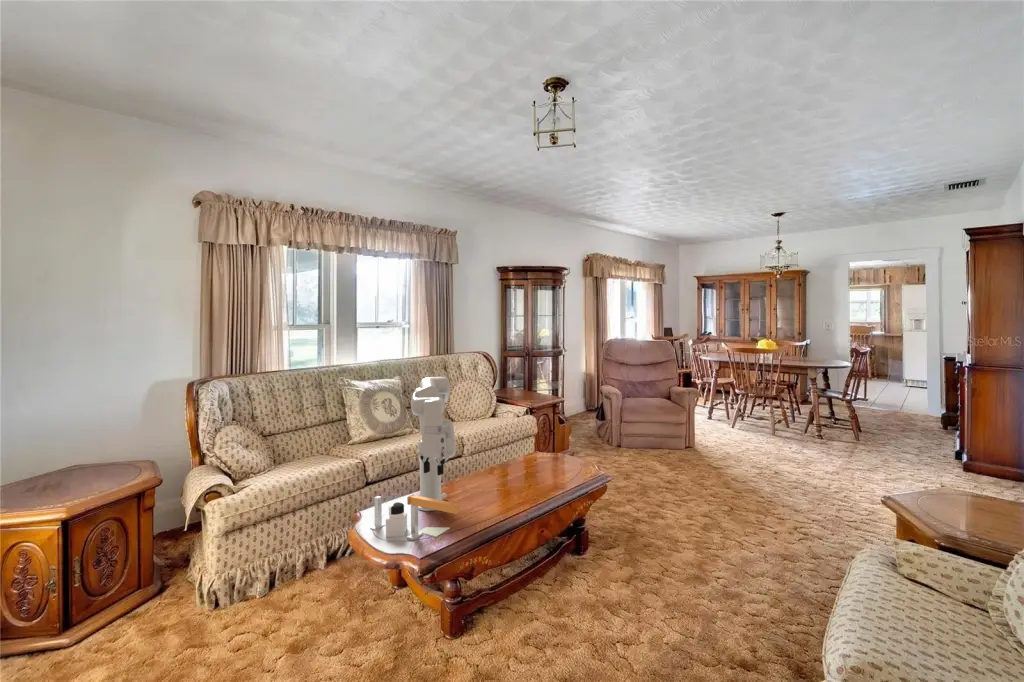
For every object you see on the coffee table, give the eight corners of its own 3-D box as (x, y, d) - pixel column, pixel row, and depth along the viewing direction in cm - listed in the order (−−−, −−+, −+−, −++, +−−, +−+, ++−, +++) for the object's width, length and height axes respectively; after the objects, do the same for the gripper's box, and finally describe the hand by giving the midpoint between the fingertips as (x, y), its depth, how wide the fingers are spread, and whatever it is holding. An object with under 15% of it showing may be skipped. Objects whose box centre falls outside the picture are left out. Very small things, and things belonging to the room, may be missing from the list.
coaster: (432, 524, 197) (432, 523, 197) (450, 529, 192) (450, 527, 192) (417, 533, 189) (417, 531, 189) (436, 537, 184) (436, 536, 184)
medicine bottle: (407, 529, 192) (406, 500, 192) (403, 536, 185) (403, 506, 185) (390, 530, 192) (389, 501, 192) (385, 537, 185) (385, 507, 185)
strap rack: (380, 524, 198) (380, 494, 198) (422, 535, 186) (422, 502, 187) (370, 529, 193) (369, 498, 193) (412, 540, 181) (412, 507, 181)
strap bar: (412, 501, 187) (412, 494, 187) (459, 511, 176) (459, 503, 176) (407, 504, 184) (407, 496, 184) (454, 514, 173) (454, 506, 173)
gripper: (455, 429, 190) (456, 473, 189) (422, 426, 198) (423, 468, 198) (444, 433, 183) (444, 478, 183) (410, 429, 192) (411, 473, 191)
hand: (433, 473), depth 190 cm, fingers open, 6 cm apart
